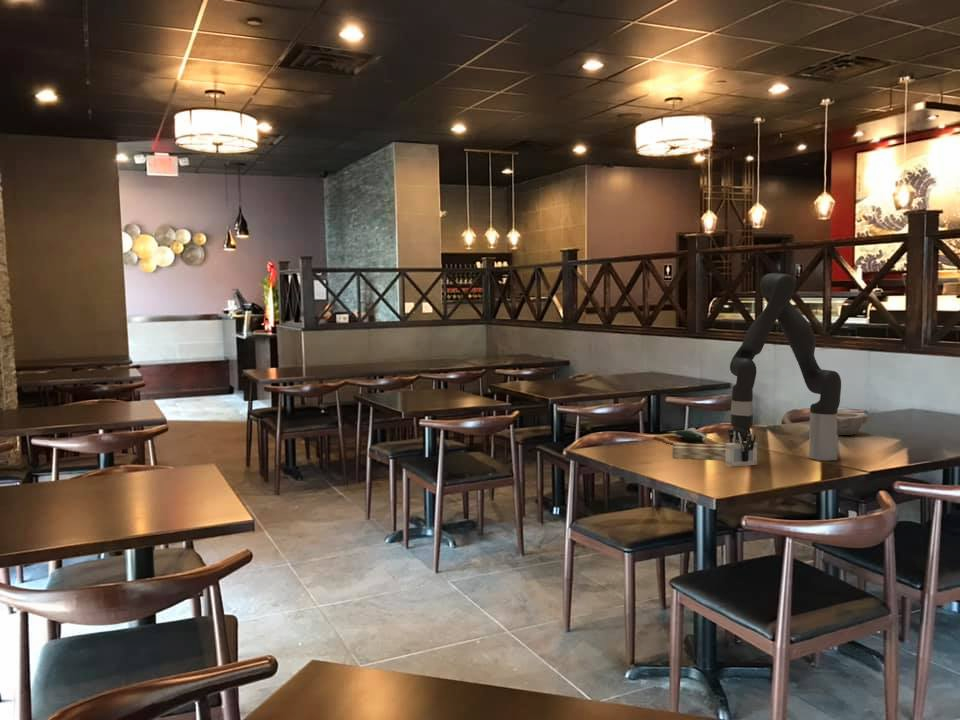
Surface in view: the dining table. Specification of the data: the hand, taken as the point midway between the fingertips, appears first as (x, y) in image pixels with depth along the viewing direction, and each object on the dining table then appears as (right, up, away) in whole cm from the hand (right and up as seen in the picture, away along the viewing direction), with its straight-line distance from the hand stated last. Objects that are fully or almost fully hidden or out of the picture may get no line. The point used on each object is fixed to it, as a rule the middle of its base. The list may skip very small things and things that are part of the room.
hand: (741, 459), depth 270 cm
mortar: (+65, +3, +59) cm, 88 cm away
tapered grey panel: (0, -2, 0) cm, 2 cm away
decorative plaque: (-7, +1, +41) cm, 42 cm away
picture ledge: (-7, -1, +13) cm, 15 cm away
